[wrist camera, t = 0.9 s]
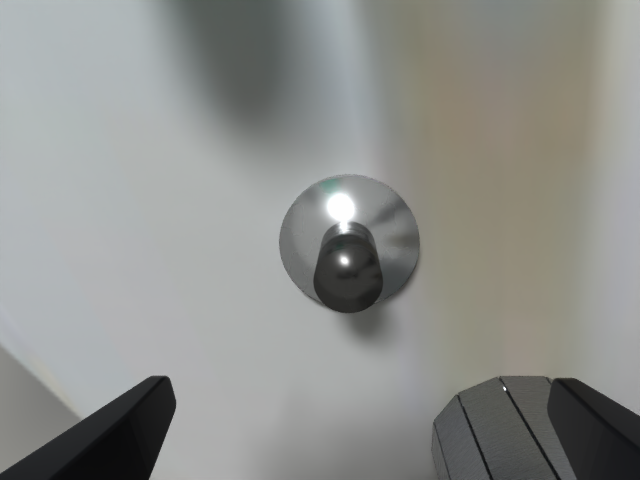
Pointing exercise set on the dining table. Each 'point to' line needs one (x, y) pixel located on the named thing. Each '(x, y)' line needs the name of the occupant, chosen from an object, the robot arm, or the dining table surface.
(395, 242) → the lid
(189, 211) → the dining table surface
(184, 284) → the dining table surface
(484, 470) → the pot
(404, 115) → the dining table surface
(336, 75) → the dining table surface
